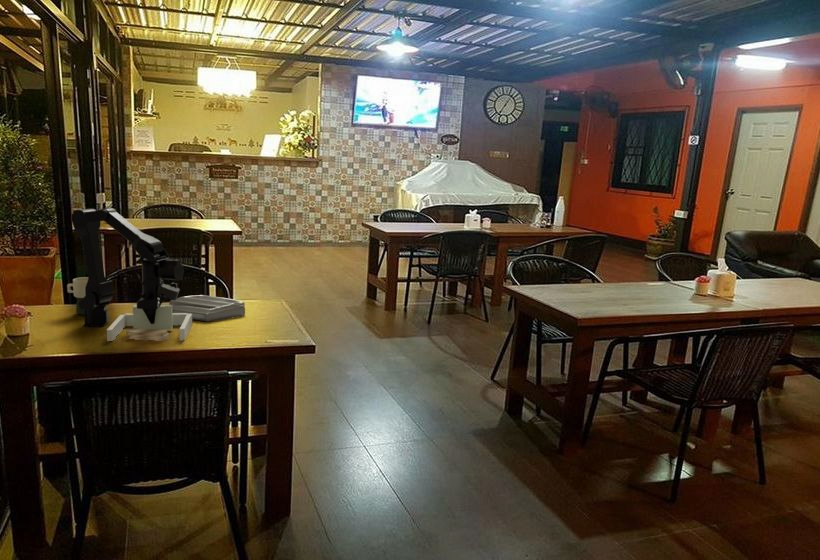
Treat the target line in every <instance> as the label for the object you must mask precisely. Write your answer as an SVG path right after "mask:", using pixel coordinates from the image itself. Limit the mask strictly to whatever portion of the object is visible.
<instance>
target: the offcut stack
mask: <svg viewBox="0 0 820 560" xmlns="http://www.w3.org/2000/svg"><path fill="white" fill-rule="evenodd" d="M125 332H126V335H128V336H127V337H126V340H128V339H135V340H134V341H147V340H155V341H154V342H166V341H167V340H168V339H170V333H169V332H168V330H156V329H137V328H134V327H132V328H130V329H128V330H126V331H125ZM165 340H166V341H165Z"/></svg>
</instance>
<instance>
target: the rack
mask: <svg viewBox="0 0 820 560" xmlns="http://www.w3.org/2000/svg"><path fill="white" fill-rule="evenodd" d="M172 315H173V326H180V327H179V341H180V342H184V341H183V340H185V341H186V339H187V337H188V335H189V332H190V330H191V328H192V326H191V325H193V320H192V313H172ZM125 327H133V313H121V314H120V315H119V316H118V317H117V318H116V319H115V320H114V321H113V322H112V323H111V325H110V326H108V328H107V329H106V341H113V340H114V341H115V340H116V338H117V337H118V336H119V335H118V334H121V332H122V331H124V329H125ZM123 328H124V329H123ZM187 334H188V335H187ZM117 335H118V336H117ZM116 336H117V337H116ZM186 336H187V337H186ZM114 341H113V342H114Z"/></svg>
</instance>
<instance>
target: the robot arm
mask: <svg viewBox="0 0 820 560" xmlns="http://www.w3.org/2000/svg"><path fill="white" fill-rule="evenodd" d="M70 218H71V219H70V220H71V223H72V225H73V228H74V230H75V232H77V234H78V235H79V236H80V239H81V240H80V241H81V245H82V251H83V256H84V261H85V266H86V272H87V277H88V281H87V284H86V287H85V297H84V298H83V299H82V300H81V301H80V302H79V306H80V309H84V314H83V315H84V323H83V327H104V326H106V324H108V322H109V321H110V319H109V310H108V309H107V306H108V305H110V303H111V300H112V299H113V297H114V295H115V289H114V282H113V281H112V280H108V278H107V277H106V276H105V272H104V271H105V270H104V265H103V260H102V254H101V248H100V242H99V237H98V234H99V231H100V229H101V222H105V223H106V224H107V225H108V226H110V227H111V228H112V229H114V231H116V232H117V233H119V234H120V235H121V236H122V237H123V238H125V239H126V240H127V241H128V242H130V243H131V245H132V247H133V250H134V251H135V252H136V254H138V255H139V256H140V257H139V258H138V259H137V260H136V261H135V264H136V265H141V274H142V275H141V277H142V279H141V280H142V281H141V282H140V284H141V286H142V293H141V297H140V299H139V300H138V301H137V302H136V305H137V309H143V311H144V313H145V314H146V316H147V318H148V320H149V322H150V323H151V324H154V322H155V316H156V310H157V308H159V307H160V305H163V304H162V303H164V301H165V299H161V298H162V297H163V298H166V299H170V301H171V300H176V299H177V298H178V295H179V293H180V291H181V289H180V288H179V287H178V283H175V282H172V283H171V284H165V283H164V280H169V281H170V280H171V281H181V280H182V279H183V277H184V274H185V268H184V266H183V264H182V263H181V260H180V259H172V258H171V257H170V255H169V253H168V252H167V251H166V249H165V247H164V244H163V242H162V241H160V240H159V239H158V238H155V236H152V235H149V234H146V233H144V232H142V231H141V230H140V229H138V228H137V227H136V226H134V225H133V224H132V223H131V222H129V221H128V220H127V219H126V218H124V216H122V215H121V214H119V212H117V210H116V209H115V208H113V207H109V208H102V209H97V210H96V209H95V208H84V209H75V210H73V213H72V214H71V215H70Z"/></svg>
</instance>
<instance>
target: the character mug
mask: <svg viewBox="0 0 820 560" xmlns="http://www.w3.org/2000/svg"><path fill="white" fill-rule="evenodd" d="M87 281H88V276H87V277H86V276H82V277H76V278H73V279H72V283H68V284H67V286H66V288H67V289H66V290H67V293H69V294H73V297H75V298H76V305H75V313H76V314H79V315H84V309H80V306H79V302H80V301H81V300H82V299H83V298H84V297H85V287H86V284H87ZM71 287H72V288H71ZM72 289H73V290H72Z"/></svg>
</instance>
